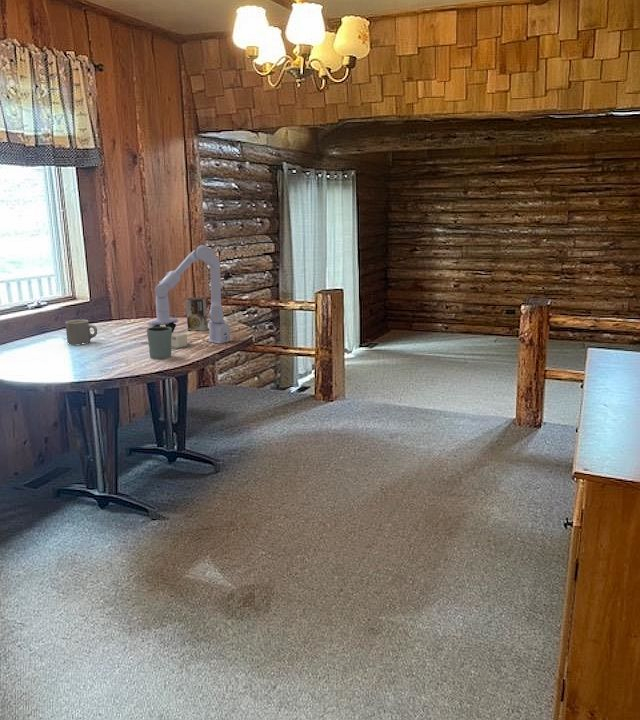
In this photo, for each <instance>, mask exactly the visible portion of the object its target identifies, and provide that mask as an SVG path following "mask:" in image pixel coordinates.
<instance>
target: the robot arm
mask: <svg viewBox="0 0 640 720" xmlns="http://www.w3.org/2000/svg"><path fill="white" fill-rule="evenodd" d="M198 261H202V262H204V263H205V264H207V266H208V267H209V271H210V309H209V312H208V313H209V321H208V330H209V339H206V340H205V342H207V341H208V342H207V343H213V342H214V343H213V344H219V345H220V344H223V343H224V344H225V343H228V342H232V341H233V340H232V339H231V327H230V325H229V324H227V323H226V321H225V319H224V317H225V315H224V312H223V309H222V287H221V286H222V285H221V284H222V283H221V282H222V281H221V262H220V260H219V258H218V257H217V256H216V254H215V252H213V250H212V248H209V247H208V246H207V245H204V244H201V245H199V246H197V247H196V248H195V249H193V250H192V251H191V252H190V253H189V254H188V255H187V256H186V257H185V258H184V259H183V260H182V262H180V264H179V265H178V266H177V268H176V269H175V270H169V271H167V272H166V274H165V276H164V278H162V279H161V280H159V282H158V283H159V284H157V285H156V287H154V294H155V310H156V311H155V312H156V313H155V314H156V320H154V321H148V324H149V325H148V328H151V327H162V326H163V325H165V326H164V327H171V328H172V332H174V331H175V328H176V327H177V324H178V323H179V322H178V321H179V320H178V318H177V317H173V318H171V316H170V315H171V314H170V302H169V301H170V300H169V295H168V294H169V291H170V290H173V289H174V287H175V286H176V285H177V284H178V283H179V282H180V280H181V275H182V274H183V273H184V272H185V271H186V270H187V269H188V268H189V267H190V266H191V265H192V264H193V263H196V262H198Z"/></svg>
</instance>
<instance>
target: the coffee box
mask: <svg viewBox="0 0 640 720" xmlns="http://www.w3.org/2000/svg"><path fill="white" fill-rule="evenodd" d="M185 306H186V307H185V308H186V309H185V310H186V320H187V323H186V324H187V331H188V330H205V331H207V330H209V321H208V308H207V297H189V298H186V299H185ZM206 329H207V330H206Z"/></svg>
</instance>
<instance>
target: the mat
mask: <svg viewBox="0 0 640 720" xmlns="http://www.w3.org/2000/svg"><path fill="white" fill-rule="evenodd" d="M140 343H141V344H143V343H146V344H145V345H149V342H148V340H146V341H141V342H140ZM191 345H193V346H194V344H193V343H188V342H187V346H188V347H191ZM187 346H182V347H184V348H187ZM182 347H174V346H171V350H179V349H183V348H182ZM178 348H179V349H178Z"/></svg>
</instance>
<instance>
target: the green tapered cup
mask: <svg viewBox="0 0 640 720" xmlns="http://www.w3.org/2000/svg"><path fill="white" fill-rule="evenodd" d="M146 333H147V341H148V342H149V344H148V348H149V350H148V352H149V358H150V359H152V358H153V360H165V359H164V358H166V359H169V357H170V358H172V349H171V339H172V328H171V327H166V326H163V325H161V327H148V328H147V329H146Z"/></svg>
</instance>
